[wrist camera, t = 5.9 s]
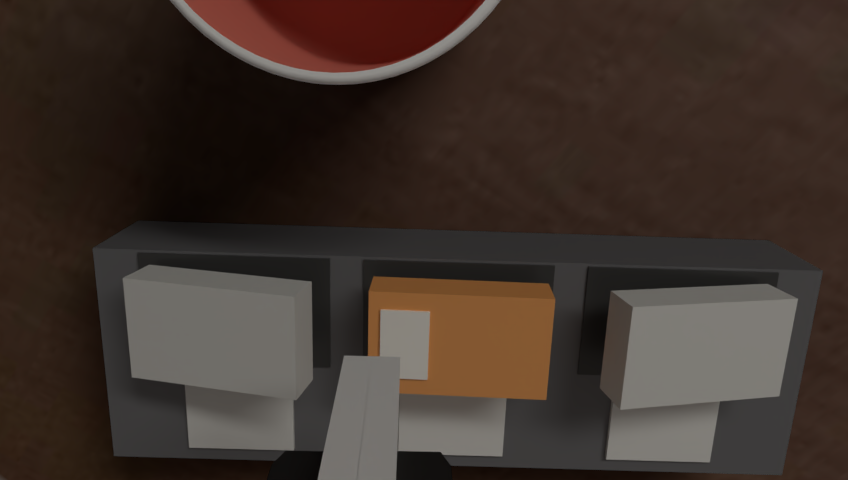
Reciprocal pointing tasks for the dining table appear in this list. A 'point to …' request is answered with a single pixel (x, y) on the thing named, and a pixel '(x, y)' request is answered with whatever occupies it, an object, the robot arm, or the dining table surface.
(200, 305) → the block
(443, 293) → the block
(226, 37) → the cup
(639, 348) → the rocker
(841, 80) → the dining table surface
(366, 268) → the switch panel
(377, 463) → the robot arm
